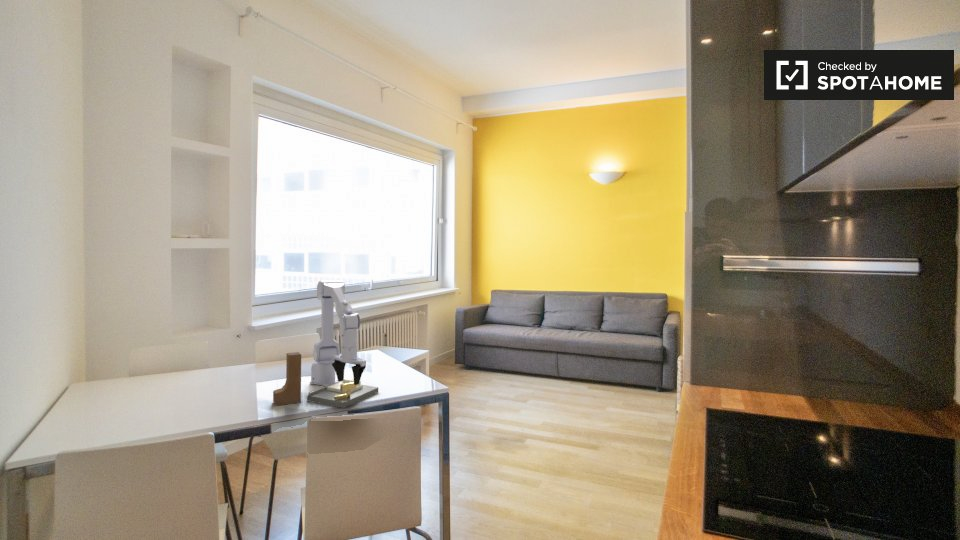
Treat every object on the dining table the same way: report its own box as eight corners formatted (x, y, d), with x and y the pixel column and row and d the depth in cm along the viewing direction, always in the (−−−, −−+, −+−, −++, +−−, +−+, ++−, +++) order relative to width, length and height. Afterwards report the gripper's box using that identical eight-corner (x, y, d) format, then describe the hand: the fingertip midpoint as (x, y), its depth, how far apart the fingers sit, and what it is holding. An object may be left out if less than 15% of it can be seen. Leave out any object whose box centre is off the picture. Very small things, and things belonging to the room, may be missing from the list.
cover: (327, 390, 194) (327, 383, 194) (342, 384, 202) (342, 378, 202) (348, 393, 190) (348, 387, 190) (362, 387, 198) (362, 381, 198)
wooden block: (274, 406, 180) (275, 356, 179) (273, 402, 184) (273, 353, 183) (301, 402, 185) (301, 354, 184) (298, 399, 189) (299, 351, 188)
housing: (307, 400, 187) (307, 392, 187) (343, 386, 206) (343, 379, 206) (344, 408, 180) (344, 399, 180) (378, 392, 200) (378, 384, 200)
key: (335, 400, 182) (336, 386, 182) (333, 399, 183) (334, 385, 183) (356, 396, 188) (356, 382, 188) (354, 395, 189) (354, 381, 189)
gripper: (371, 346, 186) (371, 383, 186) (341, 342, 192) (341, 376, 193) (359, 350, 179) (358, 387, 180) (328, 345, 186) (327, 381, 187)
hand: (348, 382), depth 186 cm, fingers open, 7 cm apart
